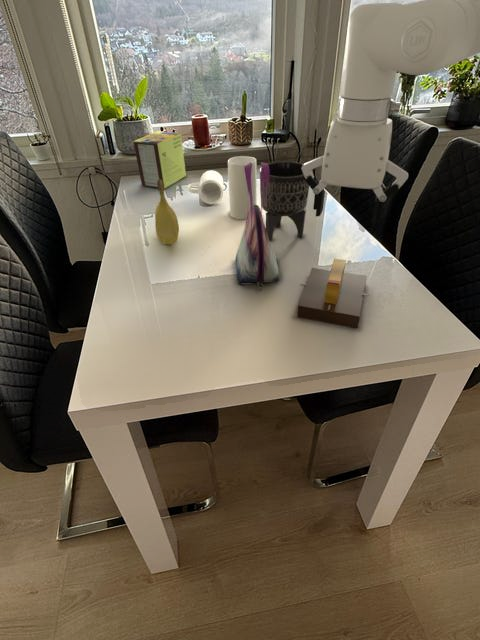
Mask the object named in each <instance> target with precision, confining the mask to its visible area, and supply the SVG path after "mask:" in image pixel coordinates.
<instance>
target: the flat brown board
mask: <svg viewBox="0 0 480 640" xmlns="http://www.w3.org/2000/svg"><path fill="white" fill-rule="evenodd" d="M330 272H331V269H330V270H329V269H323V268H317V267H311V270H310V272H309V275H308V278H307V280H306V283H299V284H300V285H299V286H303V291H302V293H301V295H300V298H299V302H298V304H297V311H296V318H300V319H305V320H309V321H316V322H320V323H325V324H331V325H337V326H342V327H347V328H353V329H358V328H359V323H360V319H361V315H362V308H363V302H364V301H363V300H364V296H365V297H370V294H369V293H365V289H366V283H367V275H364V274H358V273H350V272H344V275H343V280H342V284H341V288H340V292H339V296H338V300H337V304H332V303H326V302H324V301H325V294H326V287H327V282H328V278H329V275H330Z"/></svg>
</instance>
